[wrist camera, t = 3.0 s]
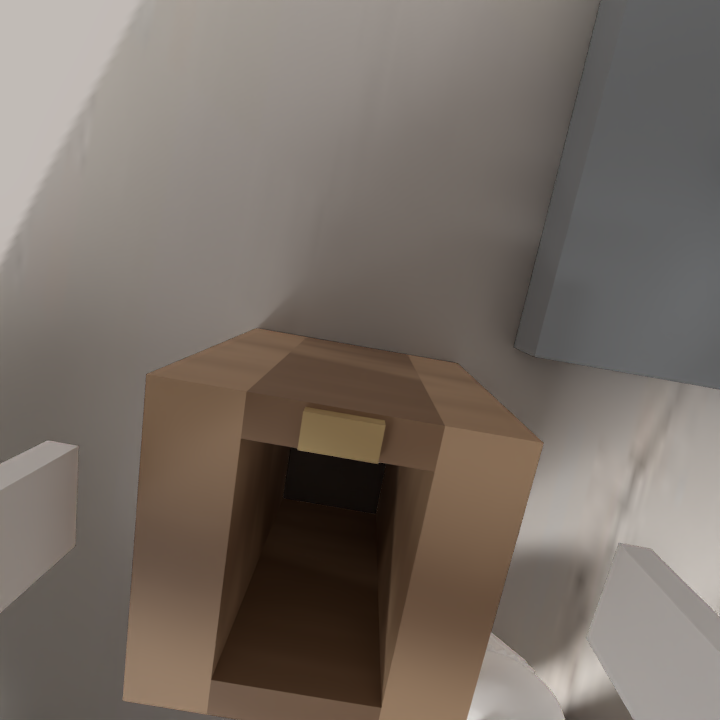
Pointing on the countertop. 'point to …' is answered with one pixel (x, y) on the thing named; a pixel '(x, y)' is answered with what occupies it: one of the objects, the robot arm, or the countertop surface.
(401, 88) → the countertop surface
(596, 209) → the shaft stand
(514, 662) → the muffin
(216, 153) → the countertop surface
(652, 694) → the robot arm
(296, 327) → the countertop surface
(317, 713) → the brown hollow block
